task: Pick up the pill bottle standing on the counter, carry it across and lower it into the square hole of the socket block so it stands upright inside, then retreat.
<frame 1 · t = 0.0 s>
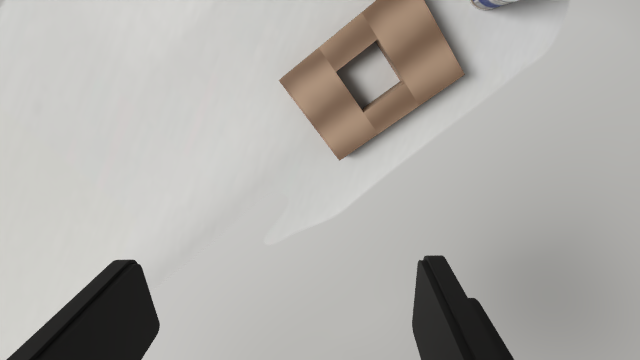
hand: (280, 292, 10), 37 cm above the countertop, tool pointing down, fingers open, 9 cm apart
socket block: (367, 76, 43), on the countertop
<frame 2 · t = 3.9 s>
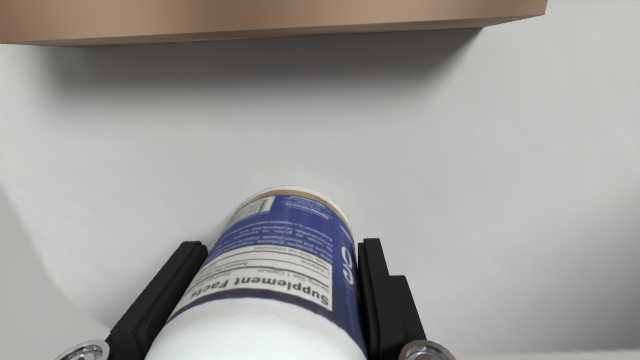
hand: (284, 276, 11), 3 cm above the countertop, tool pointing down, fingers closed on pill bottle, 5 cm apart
pill bottle: (293, 235, 13), on the countertop, touching gripper
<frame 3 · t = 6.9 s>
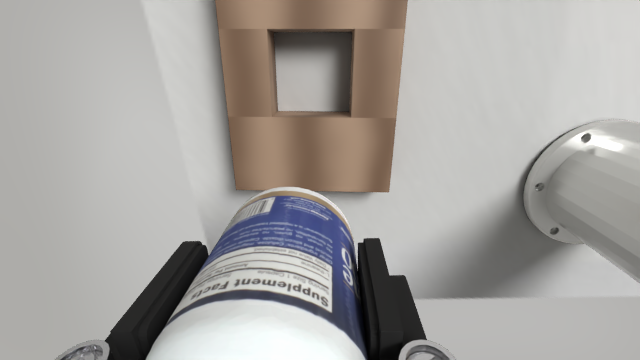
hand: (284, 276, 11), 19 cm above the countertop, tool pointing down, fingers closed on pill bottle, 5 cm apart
pill bottle: (293, 236, 14), point 17 cm above the countertop, touching gripper
socket block: (313, 73, 27), on the countertop
when the fingers open (4 cm above the countertop, at t = 9.8 s): pill bottle drops 1 cm, resting in socket block.
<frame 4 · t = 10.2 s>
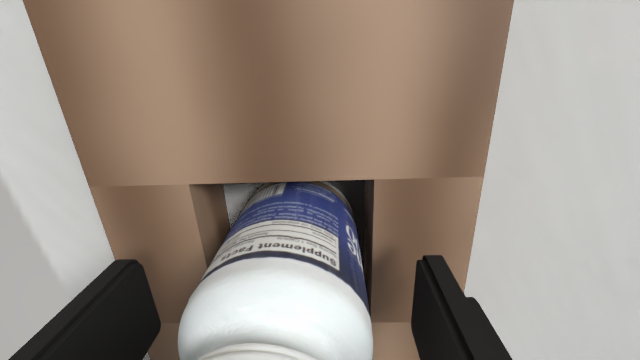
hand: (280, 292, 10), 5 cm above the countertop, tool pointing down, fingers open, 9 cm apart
pill bottle: (300, 220, 15), resting in socket block
socket block: (296, 221, 15), on the countertop
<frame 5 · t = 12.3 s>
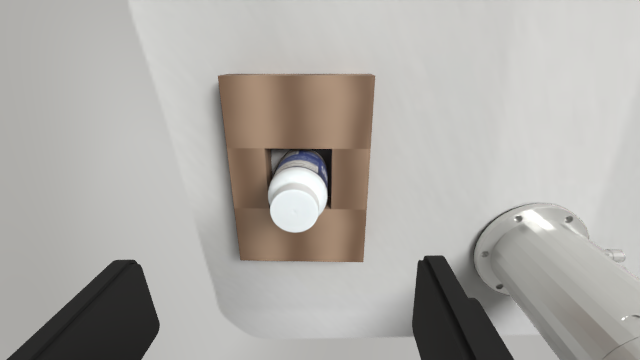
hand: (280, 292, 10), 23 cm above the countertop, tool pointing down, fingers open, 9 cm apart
pill bottle: (303, 169, 34), resting in socket block
socket block: (301, 169, 33), on the countertop
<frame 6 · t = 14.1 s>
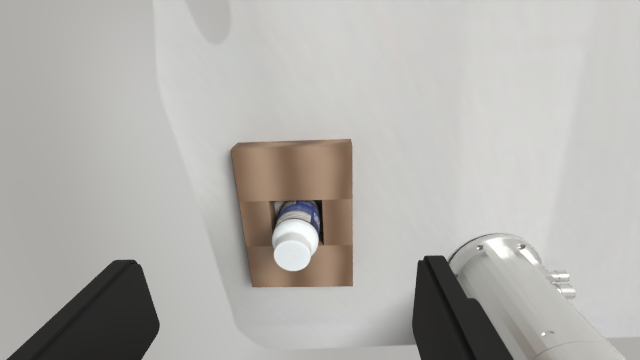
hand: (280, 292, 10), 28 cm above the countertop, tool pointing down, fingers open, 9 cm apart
pill bottle: (301, 212, 41), resting in socket block
socket block: (299, 212, 41), on the countertop
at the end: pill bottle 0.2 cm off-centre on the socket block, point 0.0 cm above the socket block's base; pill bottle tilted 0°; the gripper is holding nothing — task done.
